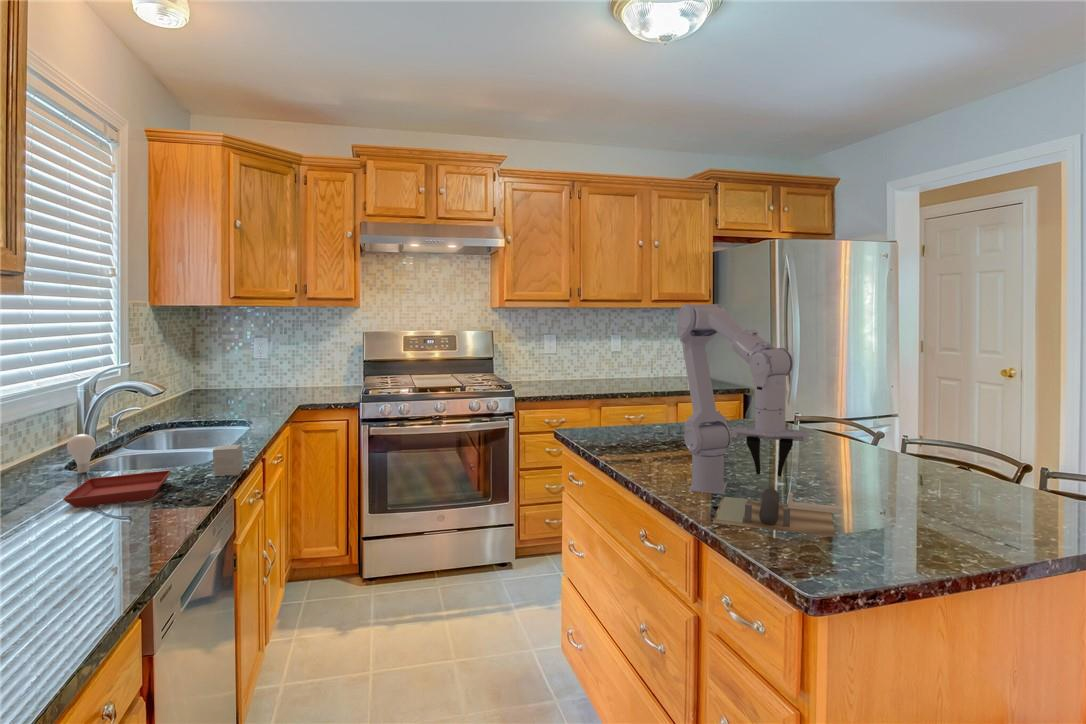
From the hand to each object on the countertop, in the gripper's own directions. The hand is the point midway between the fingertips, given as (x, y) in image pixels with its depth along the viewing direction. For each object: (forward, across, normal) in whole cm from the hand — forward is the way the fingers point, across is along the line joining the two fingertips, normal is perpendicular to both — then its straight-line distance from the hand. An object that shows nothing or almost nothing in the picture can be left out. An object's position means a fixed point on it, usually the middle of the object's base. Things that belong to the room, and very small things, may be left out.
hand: (768, 474), depth 122 cm
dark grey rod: (+8, 0, 0) cm, 8 cm away
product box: (+9, -137, -14) cm, 138 cm away
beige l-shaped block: (+4, +8, -6) cm, 11 cm away
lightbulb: (+9, -176, -28) cm, 178 cm away
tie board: (+9, +1, 0) cm, 9 cm away
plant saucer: (+10, -145, -37) cm, 150 cm away
